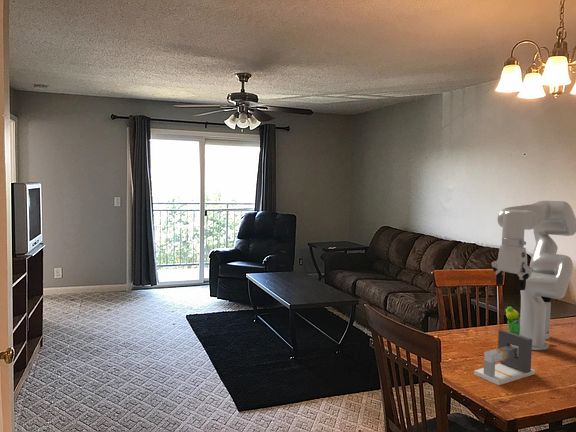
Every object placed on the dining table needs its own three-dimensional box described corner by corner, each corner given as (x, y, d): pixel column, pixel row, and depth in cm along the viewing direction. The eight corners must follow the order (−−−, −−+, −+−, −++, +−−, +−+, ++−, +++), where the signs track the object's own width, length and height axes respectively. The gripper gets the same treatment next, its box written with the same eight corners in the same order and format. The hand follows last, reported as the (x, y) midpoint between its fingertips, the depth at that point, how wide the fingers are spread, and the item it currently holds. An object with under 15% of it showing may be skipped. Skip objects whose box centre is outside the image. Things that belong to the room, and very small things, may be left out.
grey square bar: (517, 351, 171) (518, 342, 171) (526, 354, 168) (526, 345, 168) (483, 360, 162) (483, 351, 162) (491, 363, 159) (492, 354, 159)
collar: (500, 360, 173) (502, 329, 173) (530, 371, 163) (532, 339, 162) (497, 361, 173) (498, 330, 172) (527, 372, 162) (528, 339, 161)
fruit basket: (525, 335, 208) (526, 311, 207) (504, 332, 212) (505, 308, 212) (526, 329, 218) (527, 305, 217) (505, 326, 222) (506, 303, 221)
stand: (509, 364, 175) (510, 347, 174) (534, 374, 166) (535, 356, 165) (474, 374, 165) (474, 357, 165) (498, 385, 156) (499, 366, 156)
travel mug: (552, 339, 203) (554, 295, 202) (536, 338, 205) (538, 294, 203) (547, 334, 209) (549, 292, 208) (531, 333, 211) (533, 291, 209)
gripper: (540, 245, 167) (537, 291, 168) (499, 240, 183) (497, 282, 184) (526, 245, 164) (524, 292, 165) (486, 240, 180) (484, 283, 180)
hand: (510, 287), depth 174 cm, fingers open, 9 cm apart
